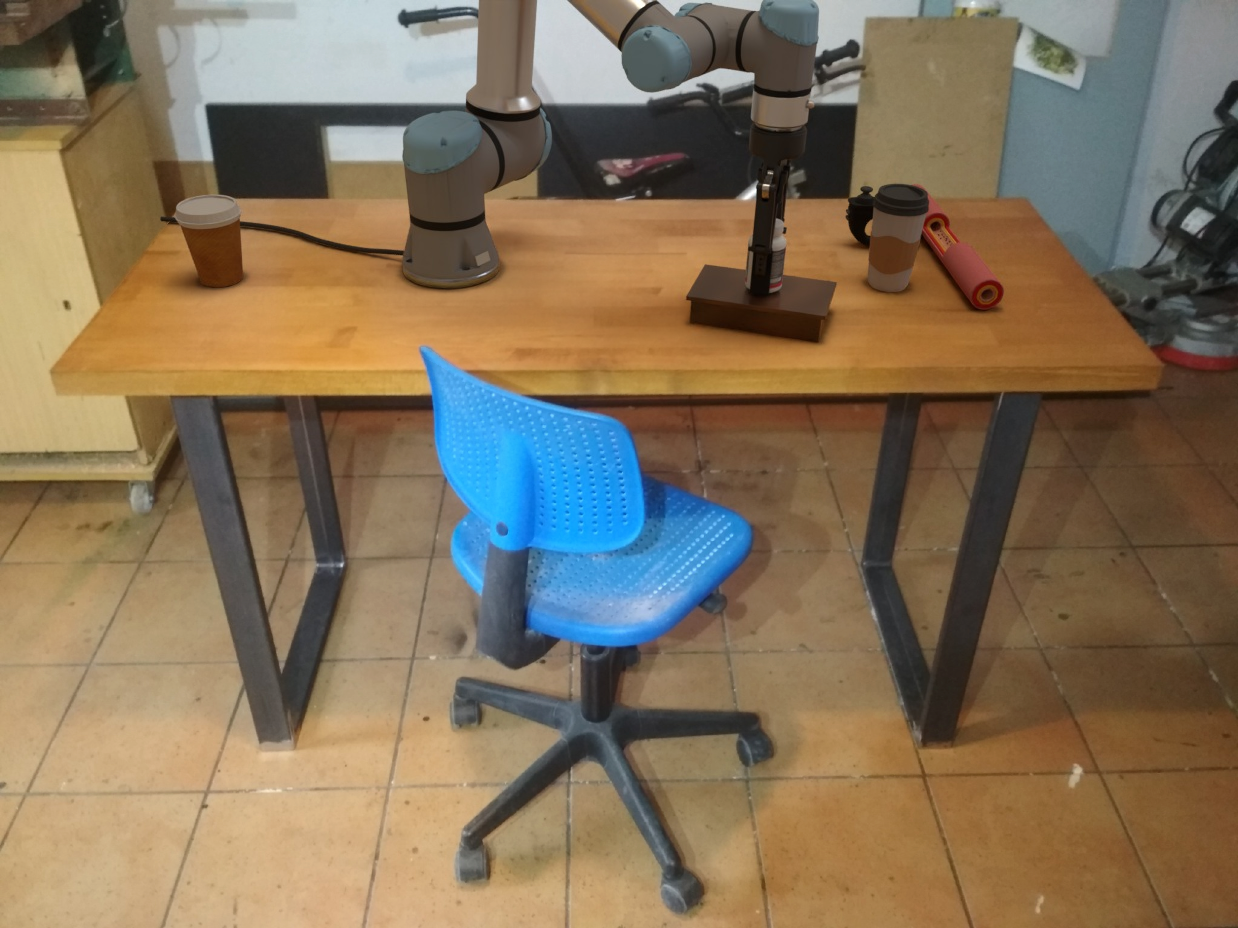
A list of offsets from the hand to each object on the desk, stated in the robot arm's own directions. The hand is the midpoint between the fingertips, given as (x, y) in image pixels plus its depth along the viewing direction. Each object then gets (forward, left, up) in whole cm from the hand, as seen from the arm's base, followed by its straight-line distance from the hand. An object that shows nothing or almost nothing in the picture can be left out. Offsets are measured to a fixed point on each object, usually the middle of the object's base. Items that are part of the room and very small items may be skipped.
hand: (763, 284), depth 154 cm
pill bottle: (0, 0, 0) cm, 0 cm away
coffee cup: (+17, +18, -5) cm, 25 cm away
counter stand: (0, 0, -5) cm, 5 cm away
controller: (+14, +34, -5) cm, 37 cm away
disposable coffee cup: (-82, -14, -5) cm, 83 cm away
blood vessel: (+25, +33, -5) cm, 42 cm away
